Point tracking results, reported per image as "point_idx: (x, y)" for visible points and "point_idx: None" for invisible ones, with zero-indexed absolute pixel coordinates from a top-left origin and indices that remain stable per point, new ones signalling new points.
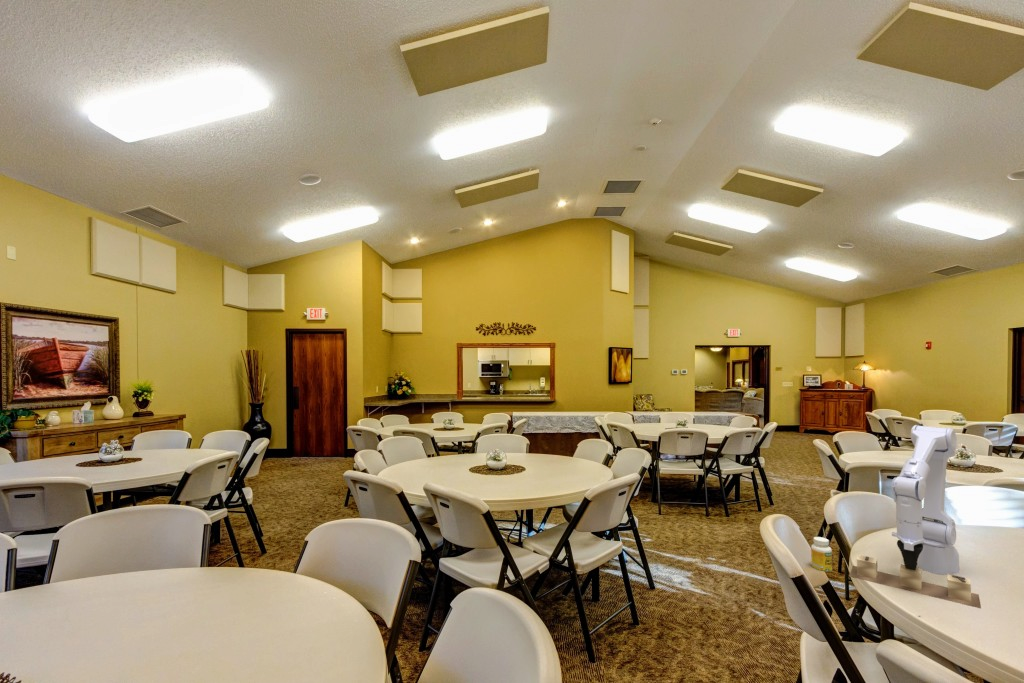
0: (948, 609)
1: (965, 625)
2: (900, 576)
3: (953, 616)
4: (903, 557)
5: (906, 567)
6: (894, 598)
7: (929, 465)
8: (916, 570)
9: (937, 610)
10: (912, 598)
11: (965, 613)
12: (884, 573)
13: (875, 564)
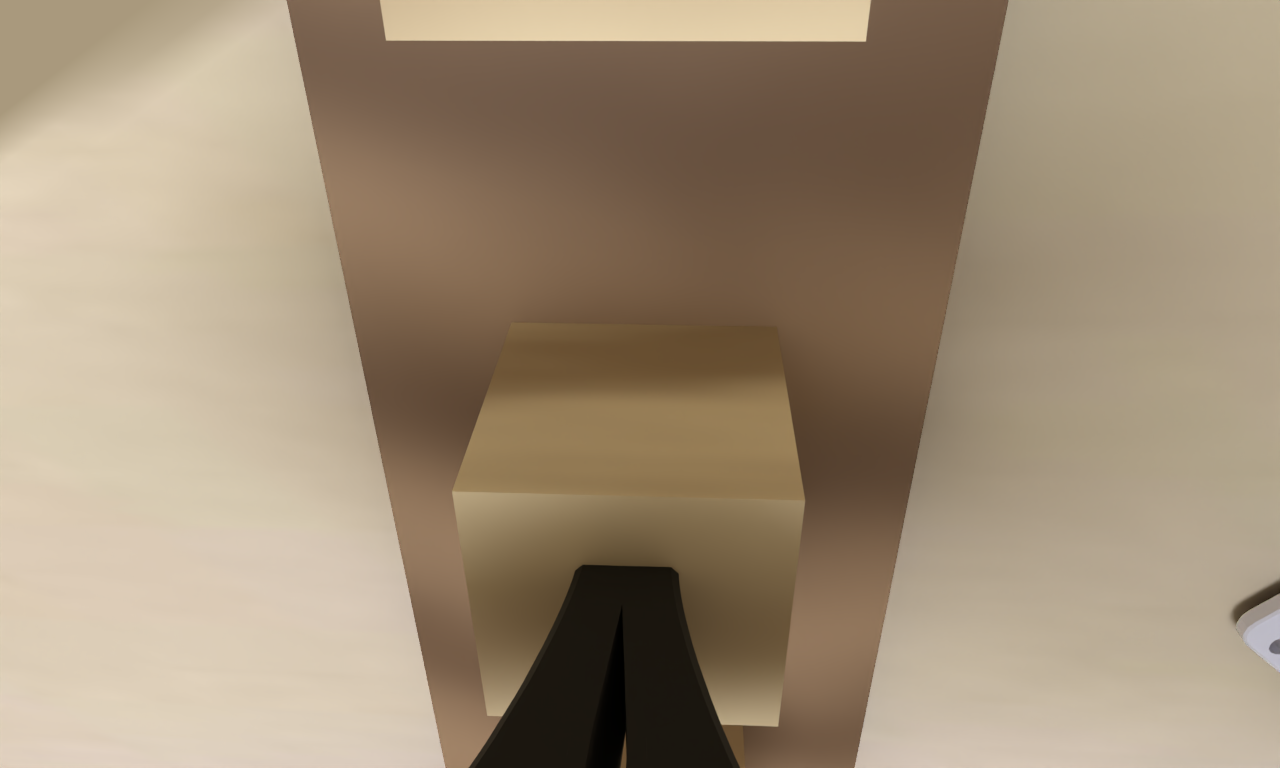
0: (298, 655)
1: (42, 721)
2: (484, 404)
3: (155, 674)
4: (490, 745)
5: (574, 589)
6: (61, 241)
7: None
8: None
9: (168, 589)
10: (287, 413)
11: (332, 738)
12: (943, 84)
13: (391, 27)
